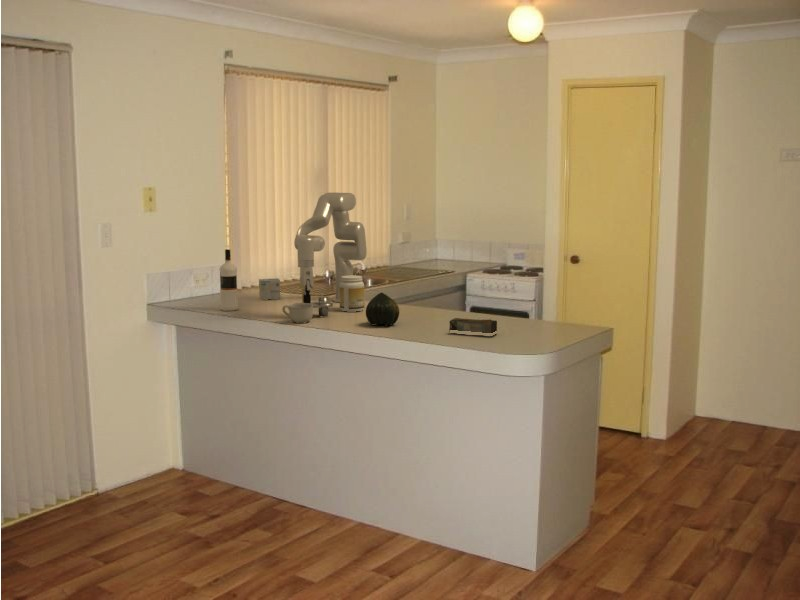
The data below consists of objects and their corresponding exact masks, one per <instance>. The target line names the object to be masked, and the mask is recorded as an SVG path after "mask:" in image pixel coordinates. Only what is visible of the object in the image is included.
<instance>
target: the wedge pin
mask: <svg viewBox="0 0 800 600" xmlns="http://www.w3.org/2000/svg"><path fill="white" fill-rule="evenodd" d="M310 286H311V285H310ZM305 288H307V287H305ZM299 289H301V298H302V299H301V301H302V302H301V303H304V288H303V287H302V285H301V284H300V283H299ZM310 289H312V288H311V287H310ZM306 290H307V289H306ZM308 304H310V303H308Z"/></svg>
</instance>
